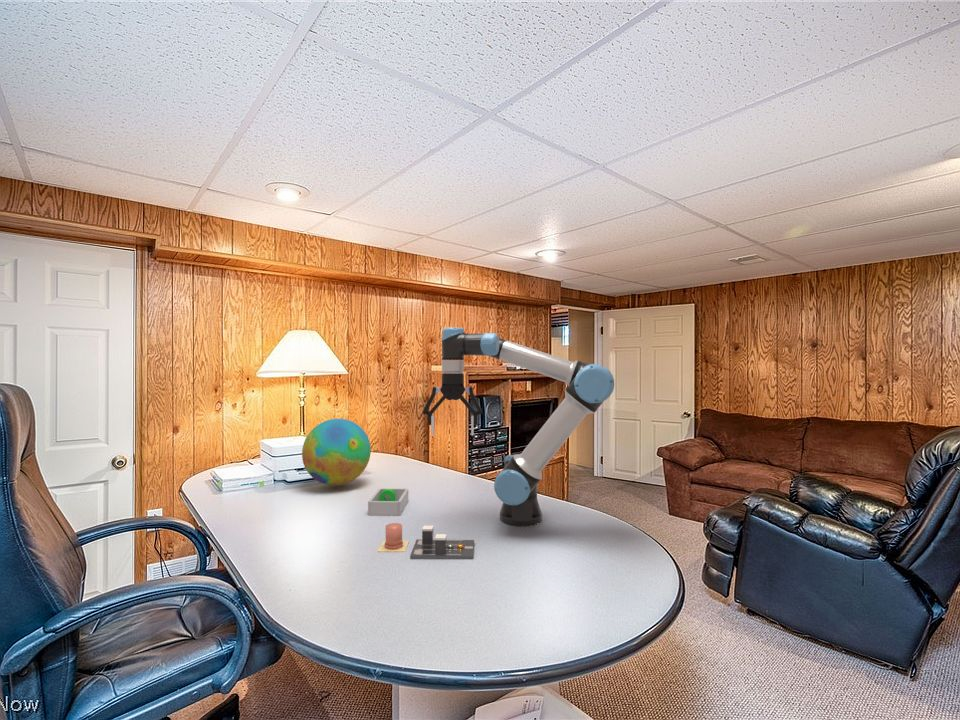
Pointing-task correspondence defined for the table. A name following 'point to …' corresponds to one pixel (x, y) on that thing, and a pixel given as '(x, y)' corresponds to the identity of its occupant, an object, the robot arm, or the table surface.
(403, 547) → the pad
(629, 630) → the table surface
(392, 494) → the mechanical part
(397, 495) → the parts corral
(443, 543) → the toggle
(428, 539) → the toggle
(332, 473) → the globe
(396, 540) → the cap
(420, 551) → the breaker panel
